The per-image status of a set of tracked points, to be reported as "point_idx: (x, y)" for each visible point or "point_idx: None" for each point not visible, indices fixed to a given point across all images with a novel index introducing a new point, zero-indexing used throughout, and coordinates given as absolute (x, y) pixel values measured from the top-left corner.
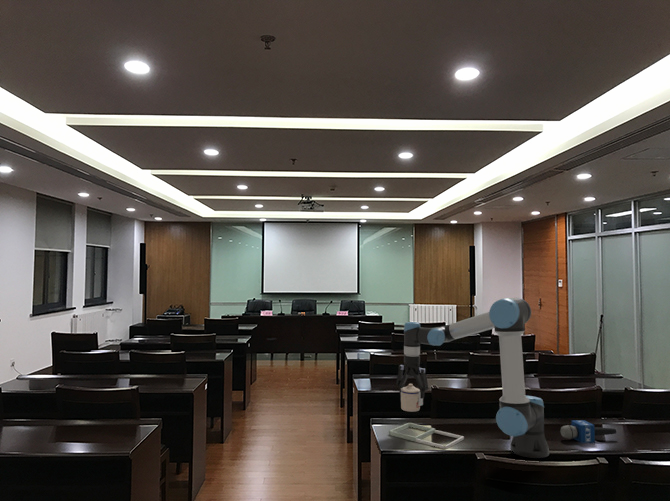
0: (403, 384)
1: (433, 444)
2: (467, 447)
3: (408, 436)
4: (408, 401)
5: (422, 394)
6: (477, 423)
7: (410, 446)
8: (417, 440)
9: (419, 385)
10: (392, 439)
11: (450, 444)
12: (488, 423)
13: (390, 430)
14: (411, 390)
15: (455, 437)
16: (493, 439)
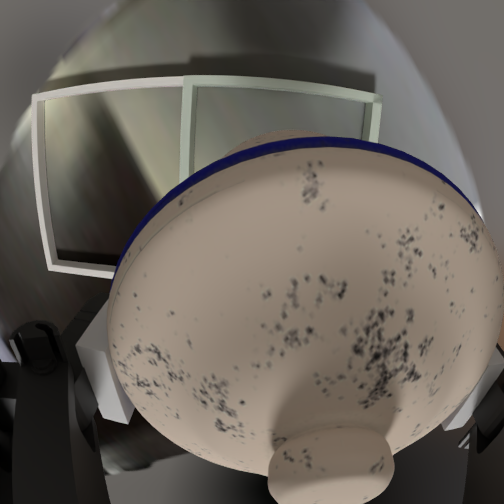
0: (484, 449)
1: (85, 85)
2: (4, 183)
3: (237, 76)
4: (266, 140)
5: (72, 328)
6: (140, 429)
7: (178, 2)
8: (176, 77)
9: (35, 453)
10: (318, 34)
11: (33, 140)
12: (120, 436)
13: (378, 105)
14: (208, 271)
15: (81, 263)
16: (14, 317)
